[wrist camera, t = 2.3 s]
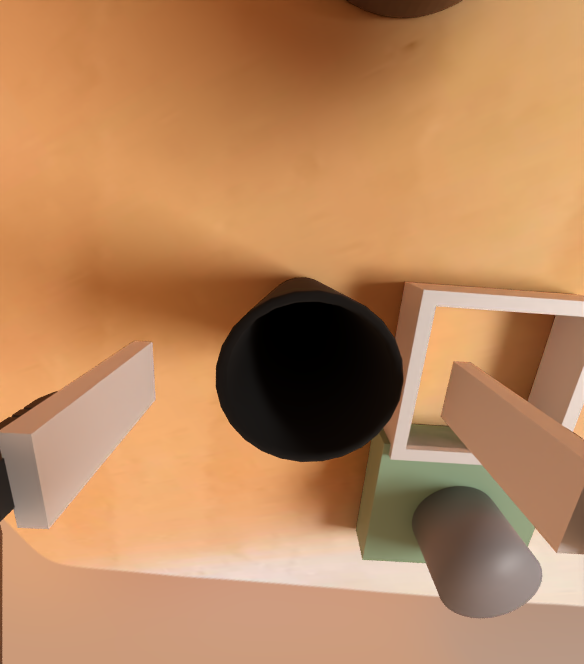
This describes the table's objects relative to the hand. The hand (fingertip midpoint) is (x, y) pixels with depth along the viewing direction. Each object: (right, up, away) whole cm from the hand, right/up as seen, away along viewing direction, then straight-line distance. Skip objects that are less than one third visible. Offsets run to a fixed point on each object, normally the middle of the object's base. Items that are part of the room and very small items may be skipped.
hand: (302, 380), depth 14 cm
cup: (0, +4, +11) cm, 11 cm away
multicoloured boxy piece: (+14, -6, +13) cm, 20 cm away
